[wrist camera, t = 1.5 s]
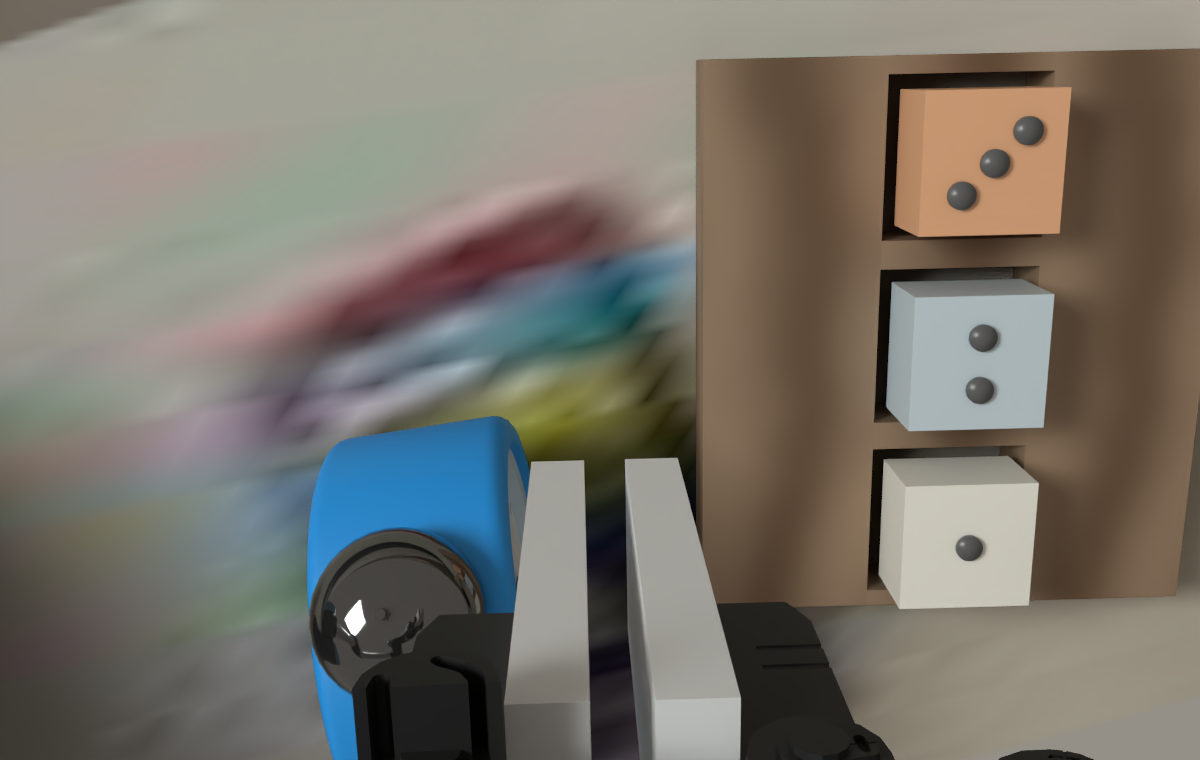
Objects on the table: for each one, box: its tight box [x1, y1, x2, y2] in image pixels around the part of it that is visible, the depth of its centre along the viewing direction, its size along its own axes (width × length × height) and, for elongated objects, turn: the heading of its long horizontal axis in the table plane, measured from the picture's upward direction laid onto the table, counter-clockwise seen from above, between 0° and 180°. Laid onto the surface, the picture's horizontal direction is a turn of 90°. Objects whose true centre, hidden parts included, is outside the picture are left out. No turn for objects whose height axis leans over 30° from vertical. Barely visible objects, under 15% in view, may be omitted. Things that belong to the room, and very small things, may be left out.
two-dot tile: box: [886, 279, 1054, 431], centre depth 40 cm, size 5×5×3 cm
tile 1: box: [894, 86, 1072, 237], centre depth 38 cm, size 5×5×3 cm
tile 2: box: [879, 456, 1039, 609], centre depth 41 cm, size 5×5×3 cm
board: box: [696, 49, 1200, 607], centre depth 42 cm, size 18×20×2 cm
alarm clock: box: [307, 416, 530, 760], centre depth 38 cm, size 13×6×15 cm, turn 9°
